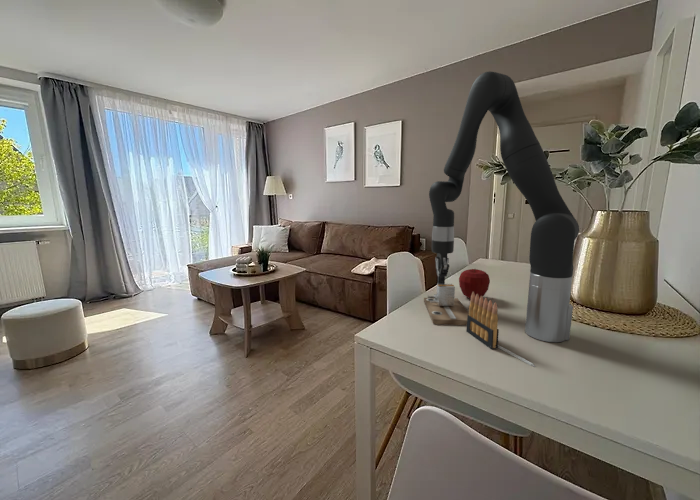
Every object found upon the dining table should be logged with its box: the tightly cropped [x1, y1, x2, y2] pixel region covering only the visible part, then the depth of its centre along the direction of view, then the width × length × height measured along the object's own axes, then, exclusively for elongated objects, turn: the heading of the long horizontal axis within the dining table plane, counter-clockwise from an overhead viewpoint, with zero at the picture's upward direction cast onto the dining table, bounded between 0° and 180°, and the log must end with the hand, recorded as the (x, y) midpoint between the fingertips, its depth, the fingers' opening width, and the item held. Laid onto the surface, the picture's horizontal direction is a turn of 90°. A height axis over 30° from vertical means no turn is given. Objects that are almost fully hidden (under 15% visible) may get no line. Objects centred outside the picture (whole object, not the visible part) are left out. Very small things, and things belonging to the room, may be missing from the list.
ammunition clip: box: [465, 292, 500, 350], centre depth 77 cm, size 11×2×12 cm, turn 12°
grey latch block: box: [430, 283, 456, 306], centre depth 98 cm, size 8×4×7 cm, turn 84°
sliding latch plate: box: [423, 293, 469, 326], centre depth 96 cm, size 12×20×3 cm, turn 174°
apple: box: [458, 268, 491, 300], centre depth 109 cm, size 11×11×12 cm
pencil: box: [497, 344, 536, 368], centre depth 71 cm, size 1×1×15 cm
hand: (440, 286), depth 105 cm, fingers closed
